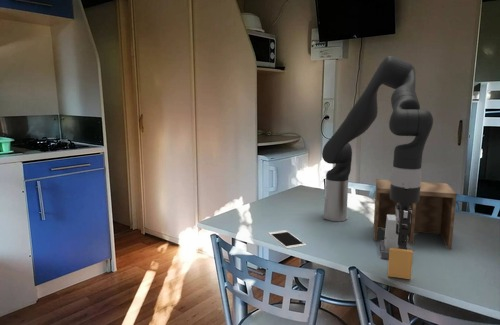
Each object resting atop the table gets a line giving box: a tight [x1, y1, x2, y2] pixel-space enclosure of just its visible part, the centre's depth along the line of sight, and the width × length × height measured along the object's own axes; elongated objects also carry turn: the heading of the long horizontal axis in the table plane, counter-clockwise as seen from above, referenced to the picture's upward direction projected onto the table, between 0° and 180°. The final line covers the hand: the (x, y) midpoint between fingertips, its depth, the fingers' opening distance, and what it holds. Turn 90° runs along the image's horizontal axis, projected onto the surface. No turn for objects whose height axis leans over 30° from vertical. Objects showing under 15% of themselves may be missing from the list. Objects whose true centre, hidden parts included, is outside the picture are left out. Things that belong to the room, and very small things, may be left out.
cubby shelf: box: [373, 178, 457, 250], centre depth 135 cm, size 25×16×20 cm, turn 72°
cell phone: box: [267, 229, 307, 249], centre depth 134 cm, size 8×16×1 cm, turn 21°
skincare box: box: [383, 215, 399, 252], centre depth 122 cm, size 6×4×12 cm
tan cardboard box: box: [379, 239, 414, 280], centre depth 114 cm, size 9×24×8 cm, turn 162°
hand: (400, 239), depth 103 cm, fingers open, 8 cm apart
